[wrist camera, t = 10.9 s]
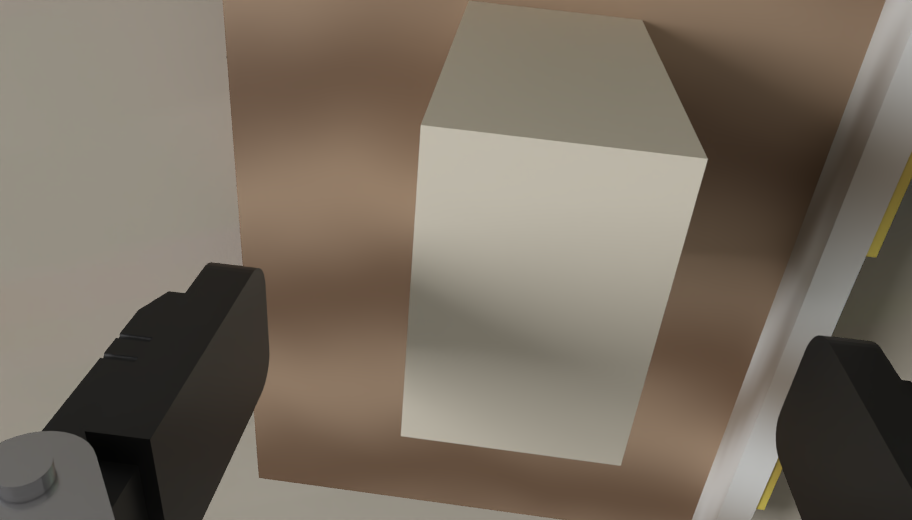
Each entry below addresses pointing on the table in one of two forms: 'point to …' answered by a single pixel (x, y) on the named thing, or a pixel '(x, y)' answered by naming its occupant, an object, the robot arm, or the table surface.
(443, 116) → the cream carton
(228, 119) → the table surface
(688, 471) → the walnut shelf
